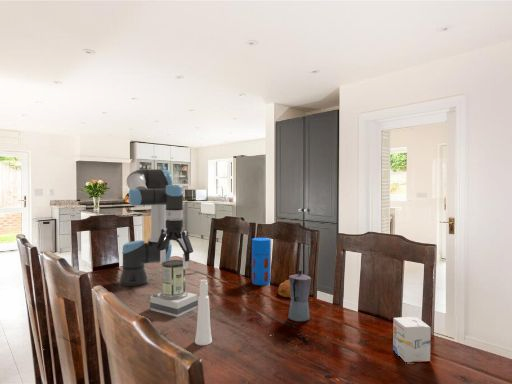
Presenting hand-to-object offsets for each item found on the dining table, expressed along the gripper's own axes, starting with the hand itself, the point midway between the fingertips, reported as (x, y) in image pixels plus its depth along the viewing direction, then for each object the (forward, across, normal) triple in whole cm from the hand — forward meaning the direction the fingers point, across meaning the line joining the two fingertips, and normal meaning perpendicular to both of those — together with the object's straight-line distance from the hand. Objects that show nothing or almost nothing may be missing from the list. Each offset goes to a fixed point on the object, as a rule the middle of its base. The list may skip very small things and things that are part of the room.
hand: (174, 266), depth 155 cm
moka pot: (+19, +54, +18) cm, 59 cm away
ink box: (+18, +98, +7) cm, 99 cm away
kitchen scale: (+19, +1, 0) cm, 19 cm away
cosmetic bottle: (+19, +33, -19) cm, 42 cm away
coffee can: (+12, 0, 0) cm, 12 cm away
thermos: (+20, +14, +56) cm, 61 cm away
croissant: (+19, +37, +46) cm, 62 cm away
